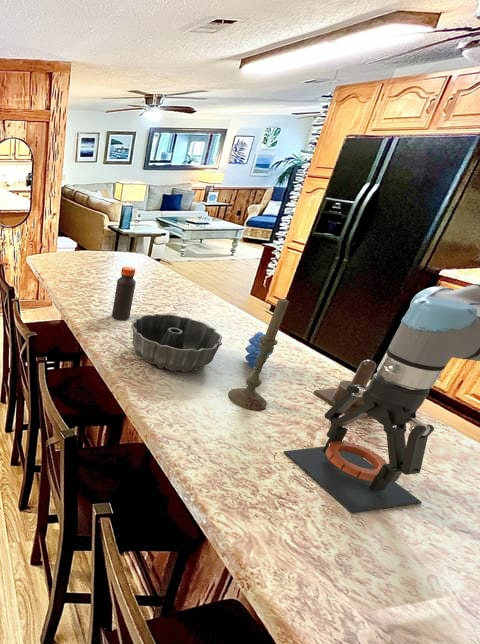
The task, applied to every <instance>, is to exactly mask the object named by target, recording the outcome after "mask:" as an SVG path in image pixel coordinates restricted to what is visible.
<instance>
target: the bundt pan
mask: <svg viewBox="0 0 480 644" xmlns="http://www.w3.org/2000/svg"><path fill="white" fill-rule="evenodd" d="M130 328H131V329H132V345H133V347H134V349H135V353H136V355H137V356H138V357H140V358H141V359H143V360H144V361H145V362H147V363H148V364H153V365H156V366H157V368H159V369H161V368H166V369H167V370H169V371H174V372H175V371H181V372H184V373H188V372H190V371H196V370H200V369H202V368H204V367H206V366H207V365H209V364H210V363H211V362H212V361H213V360H214V358H215V356H216V354H217V352H218V350H219V348H220V346H222V345H223V343H222V339H223V336H222V335H221V334H220V333H219V332H217V330H216V328H214V327H211V326H210V325H208V324H207V323H204V322H203V321H200V320H195V319H192V318H190V317H187V316H186V317H185V316H180V315H176V314H160V313H154V314H145V315H141V316H140V317H138V318H134V319H133V322H132V323H131V325H130Z"/></svg>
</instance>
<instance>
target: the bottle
mask: <svg viewBox="0 0 480 644" xmlns="http://www.w3.org/2000/svg"><path fill="white" fill-rule="evenodd" d="M120 275H121V276H120V277H118V279H117V280H116V286H115V287H116V288H115V293H114V300H113V304H112V312H111V317H112V318H113V319H115V320H118V321H127V320H129V319H130V316H131V311H132V307H133V306H132V305H133V300H134V295H135V288H136V280H135V279H134V277H135V275H136V268H135V267H132V266H121V271H120Z"/></svg>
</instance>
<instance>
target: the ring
mask: <svg viewBox="0 0 480 644" xmlns="http://www.w3.org/2000/svg"><path fill="white" fill-rule="evenodd" d="M341 451H345V452H350V453H354V454H356V455H358V456H360V457H362V458H364V459H365V460H366V461H368V462H369V463H370V464H372V465H373V466H374V468H375V469H372V470H370V469H366V468H361V467H358V466H356V465H354V464H352V463H350V462H348V461H347V460H346V459H344V458H343V457H342V456H341V455H340V453H339V452H341ZM326 455H327V457H328V459H329V460H331V462H332V463H333V464H334V465H336V466H337V467H338V468H339V469H342V471H344V472H346V473H348V474H350V475H352V476H354V477H358V478H360V479H364V480H368V481H374V479H375V477H376V476H377V474H378V472H379V471H380V469H381V468H382V466H383V464H388V462H387V461H386V460H385V459H384V458H383V457H382V456H381V455H379V454H377V453H376V452H375V451H374V450H371V449H370V448H367V447H365V446H363V445H361V444H358V443H357V444H356V443H355V442H351V441H346V440H342V441H333V442H331V443H330V444H329V446H328V448H327V450H326Z"/></svg>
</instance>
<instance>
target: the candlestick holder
mask: <svg viewBox="0 0 480 644" xmlns="http://www.w3.org/2000/svg"><path fill="white" fill-rule="evenodd" d="M289 303H290V301H289V300H288V299H286V297H284V298H278V299H277V301H276V305H275V308H274V310H273V313H272V316H271V319H270V321H269V324H268V327H267V329H266V332H265V334H266V335H265V336H264V337H261V338H260V341H261V344H259V346H258V347H259V349H260V350H261V353H260V354H259V357H257V363H256V366H255V368H253V373H252V374H251V375H249V376H247V377H246V378H245V384H246V387H240V388H238V387H237V388H231V389H230V390H229V391H228V393H227V396H228V399H229V400H230V401H232V402H233V404H235V405H237V406H239V407H241V408H244V409H246V410H252V411H262V410H264V409H265V408H266V407H267V405H268V403H267V400H266V399H265V398H264V397H263V396H262V395H261V394H260V393H258V392H257V391H256V389H257V388H259V387H260V386H261V385H262V382H263V381H262V380H261V378H260V374H261V372H262V371H263V370H262V369H263V368H264V365H265V364H264V363H266V362H267V360H268V359H267V353H270V352H272V351H273V352H274V351H275V347H274V346H277V345H278V343H279V341H278V340H277V339H276V337H277V334H278V332H279V329H280V326H281V325H282V321H283V319H284V316H285V314H286V311H287V309H288V305H289Z"/></svg>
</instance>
